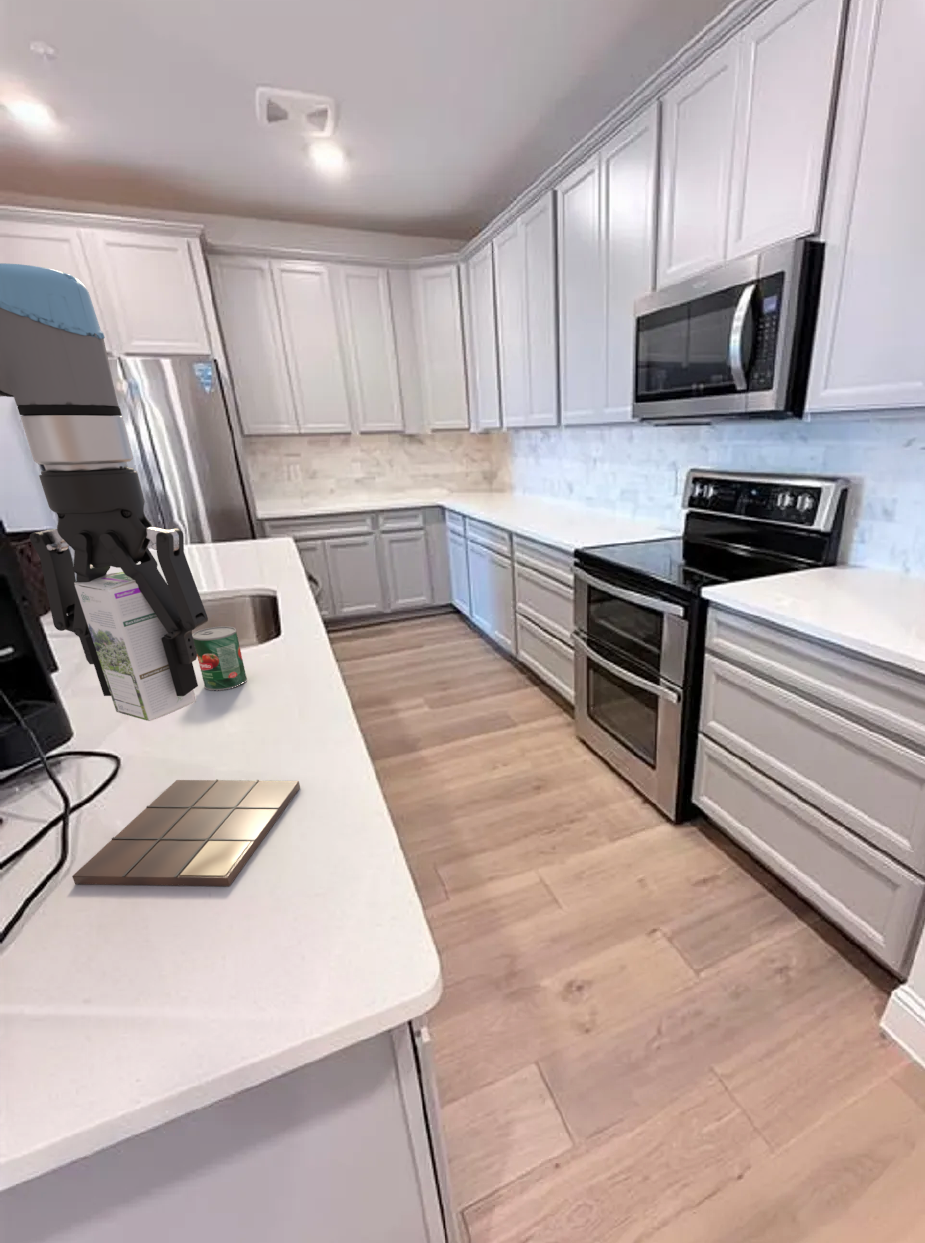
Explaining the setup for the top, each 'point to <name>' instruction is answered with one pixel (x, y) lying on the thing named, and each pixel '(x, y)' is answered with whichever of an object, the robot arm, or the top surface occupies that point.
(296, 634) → the top surface
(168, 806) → the game board
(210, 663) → the canned tomato
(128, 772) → the top surface
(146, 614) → the syrup box
